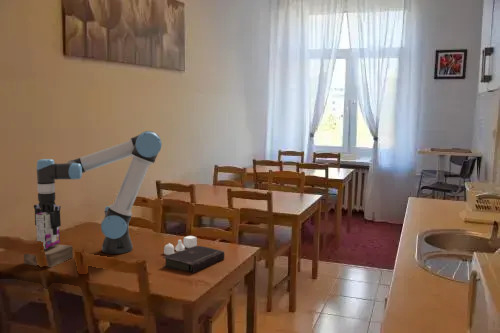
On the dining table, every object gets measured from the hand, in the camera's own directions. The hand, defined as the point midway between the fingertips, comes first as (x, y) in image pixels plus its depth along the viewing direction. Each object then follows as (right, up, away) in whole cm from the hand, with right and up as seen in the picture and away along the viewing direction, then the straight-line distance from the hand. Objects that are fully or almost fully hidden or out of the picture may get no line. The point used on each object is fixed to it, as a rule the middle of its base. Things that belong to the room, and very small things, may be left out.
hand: (48, 240), depth 224 cm
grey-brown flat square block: (0, -10, +1) cm, 10 cm away
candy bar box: (0, -3, 0) cm, 3 cm away
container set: (+59, -9, +21) cm, 63 cm away
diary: (+69, -11, +1) cm, 69 cm away
